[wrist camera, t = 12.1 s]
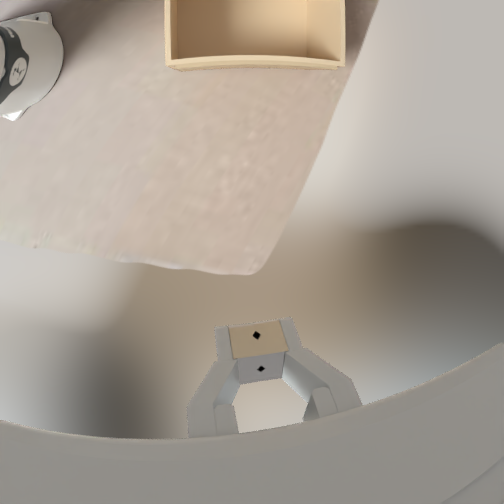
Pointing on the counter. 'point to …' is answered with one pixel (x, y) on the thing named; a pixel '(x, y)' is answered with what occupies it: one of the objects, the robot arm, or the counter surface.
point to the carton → (254, 34)
